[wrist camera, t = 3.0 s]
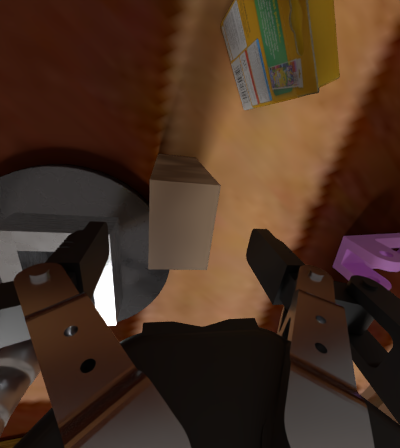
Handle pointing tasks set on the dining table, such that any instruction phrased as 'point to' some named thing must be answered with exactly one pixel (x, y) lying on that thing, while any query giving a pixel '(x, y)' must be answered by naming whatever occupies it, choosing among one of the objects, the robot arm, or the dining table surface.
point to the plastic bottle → (15, 376)
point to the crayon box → (280, 48)
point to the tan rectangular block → (181, 213)
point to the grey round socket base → (77, 220)
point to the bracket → (368, 256)
